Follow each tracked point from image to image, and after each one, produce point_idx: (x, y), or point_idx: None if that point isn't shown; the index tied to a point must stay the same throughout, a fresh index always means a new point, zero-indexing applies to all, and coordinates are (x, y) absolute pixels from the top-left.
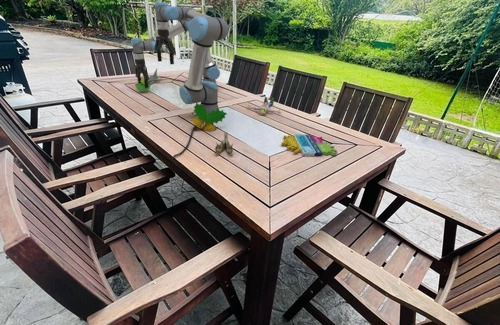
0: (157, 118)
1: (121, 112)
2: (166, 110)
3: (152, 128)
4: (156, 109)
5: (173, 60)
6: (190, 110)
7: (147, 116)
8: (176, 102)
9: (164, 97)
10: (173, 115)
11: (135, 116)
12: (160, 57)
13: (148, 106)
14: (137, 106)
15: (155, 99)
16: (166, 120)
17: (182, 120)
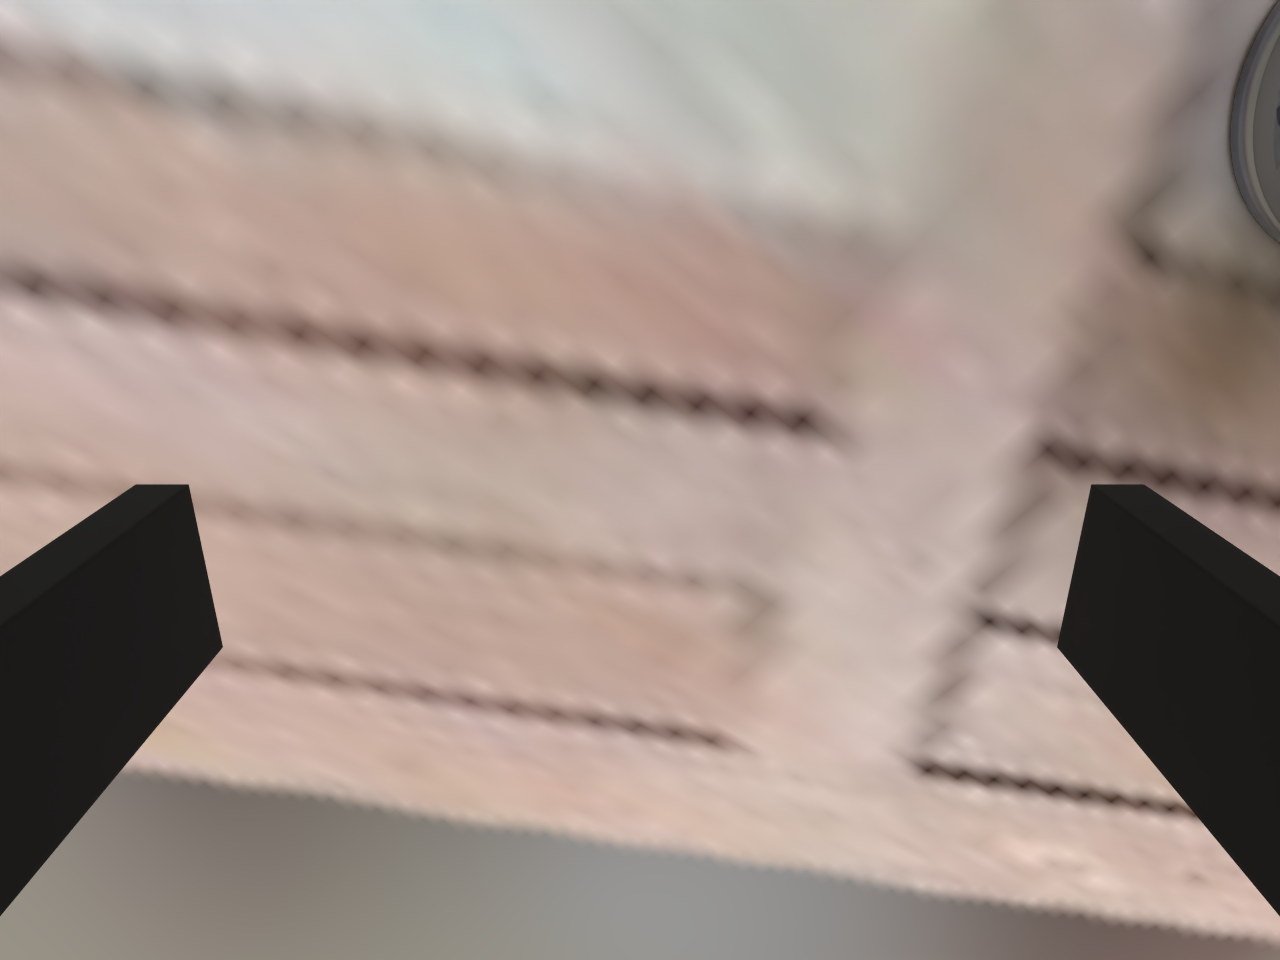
0: (924, 669)
1: (494, 809)
2: (776, 436)
3: (1094, 833)
4: (653, 503)
5: (1254, 579)
6: (1033, 179)
7: (792, 704)
8: (558, 60)
9: (165, 21)
10: (992, 490)
11: (703, 779)
12: (93, 637)
13: (476, 505)
14: (394, 600)
15: (208, 229)
16: (1049, 640)
17: (1201, 522)
